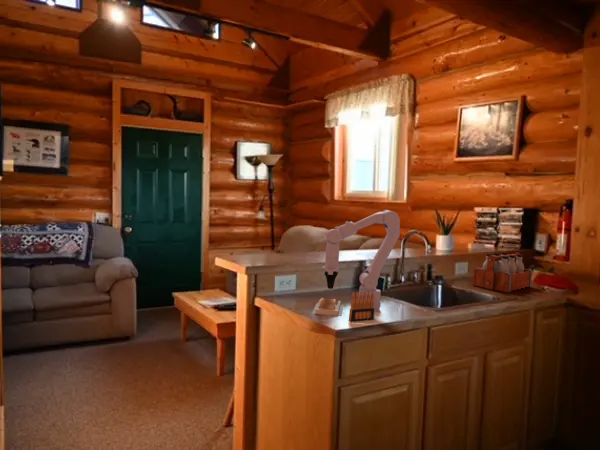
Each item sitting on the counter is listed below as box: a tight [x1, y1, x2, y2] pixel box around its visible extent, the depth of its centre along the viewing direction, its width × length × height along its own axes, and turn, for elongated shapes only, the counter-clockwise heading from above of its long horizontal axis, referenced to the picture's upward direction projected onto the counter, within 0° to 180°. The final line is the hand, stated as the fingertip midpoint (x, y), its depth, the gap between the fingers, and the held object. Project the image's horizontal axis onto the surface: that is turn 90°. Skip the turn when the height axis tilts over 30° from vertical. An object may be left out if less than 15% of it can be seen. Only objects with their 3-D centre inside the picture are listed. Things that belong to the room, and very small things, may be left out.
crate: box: [319, 297, 337, 310], centre depth 197 cm, size 6×6×5 cm
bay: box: [311, 298, 344, 317], centre depth 202 cm, size 12×18×2 cm, turn 172°
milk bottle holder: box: [471, 251, 533, 293], centre depth 276 cm, size 21×35×19 cm, turn 131°
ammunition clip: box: [348, 290, 375, 323], centre depth 188 cm, size 11×2×12 cm, turn 116°
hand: (330, 288), depth 206 cm, fingers closed
